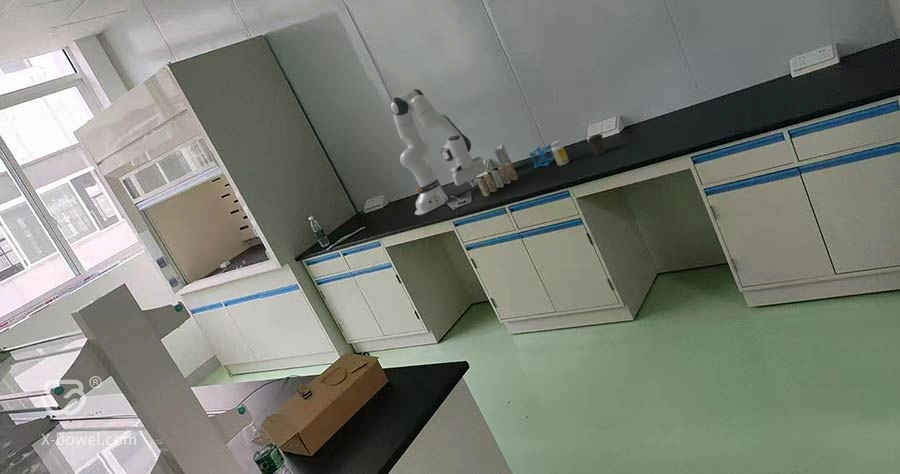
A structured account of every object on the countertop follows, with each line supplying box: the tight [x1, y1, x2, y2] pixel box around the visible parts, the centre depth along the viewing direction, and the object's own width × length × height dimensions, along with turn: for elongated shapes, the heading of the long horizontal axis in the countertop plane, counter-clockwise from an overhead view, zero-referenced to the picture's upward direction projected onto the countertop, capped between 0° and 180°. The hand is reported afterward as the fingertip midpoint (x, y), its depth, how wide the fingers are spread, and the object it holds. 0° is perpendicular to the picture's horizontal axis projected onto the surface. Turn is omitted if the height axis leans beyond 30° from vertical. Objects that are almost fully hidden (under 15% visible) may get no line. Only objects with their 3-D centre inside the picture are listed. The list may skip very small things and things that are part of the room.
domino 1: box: [477, 177, 491, 197], centre depth 361 cm, size 2×5×10 cm, turn 24°
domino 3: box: [497, 166, 512, 185], centre depth 366 cm, size 2×5×10 cm, turn 24°
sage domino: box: [490, 169, 505, 189], centre depth 364 cm, size 2×5×10 cm, turn 24°
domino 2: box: [483, 173, 498, 193], centre depth 363 cm, size 2×5×10 cm, turn 25°
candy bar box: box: [494, 143, 512, 173], centre depth 388 cm, size 11×5×16 cm, turn 168°
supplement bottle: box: [550, 140, 570, 167], centre depth 352 cm, size 7×7×13 cm
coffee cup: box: [587, 133, 606, 156], centre depth 339 cm, size 8×8×10 cm
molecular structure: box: [529, 144, 556, 169], centre depth 368 cm, size 10×10×10 cm
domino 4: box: [505, 162, 519, 181], centre depth 367 cm, size 2×5×10 cm, turn 24°
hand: (475, 185), depth 359 cm, fingers closed
